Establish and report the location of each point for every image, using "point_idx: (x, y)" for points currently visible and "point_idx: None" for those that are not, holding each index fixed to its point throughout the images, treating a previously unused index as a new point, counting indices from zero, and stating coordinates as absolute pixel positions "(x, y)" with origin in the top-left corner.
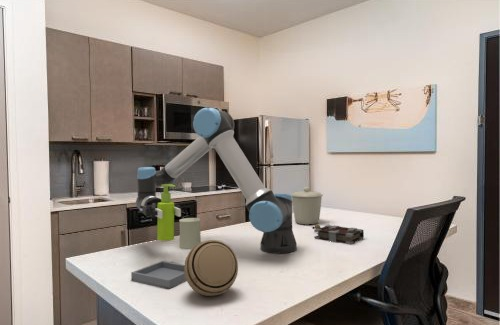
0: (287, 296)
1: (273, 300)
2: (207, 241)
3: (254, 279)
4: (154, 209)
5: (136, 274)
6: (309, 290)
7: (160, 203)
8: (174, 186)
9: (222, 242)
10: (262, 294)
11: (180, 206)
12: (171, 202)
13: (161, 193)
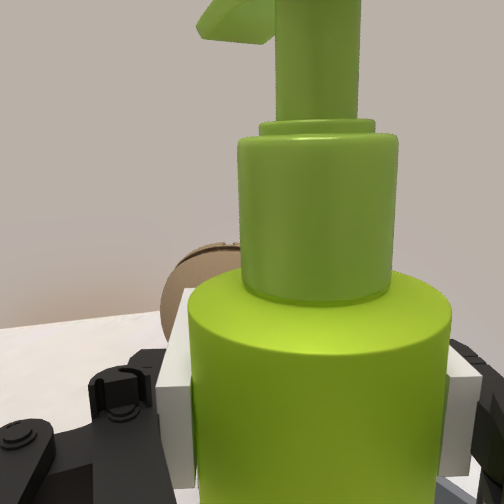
0: (109, 327)
1: (144, 326)
2: (238, 243)
3: (76, 392)
4: (492, 398)
5: (473, 501)
6: (52, 329)
7: (394, 271)
8: (209, 34)
9: (198, 248)
10: (139, 342)
11: (25, 422)
12: (238, 272)
13: (392, 134)
